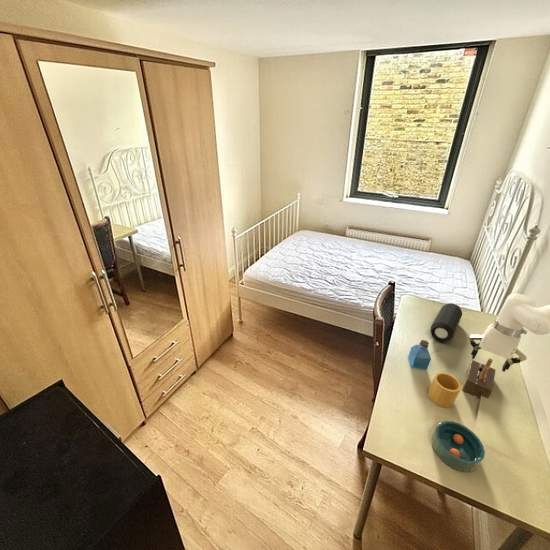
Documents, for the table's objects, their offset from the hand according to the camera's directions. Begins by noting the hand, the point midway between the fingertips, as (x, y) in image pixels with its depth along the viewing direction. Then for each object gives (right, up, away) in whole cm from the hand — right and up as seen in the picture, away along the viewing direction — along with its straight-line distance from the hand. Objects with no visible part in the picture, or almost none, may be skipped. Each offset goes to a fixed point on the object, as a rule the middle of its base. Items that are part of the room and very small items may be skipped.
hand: (488, 362), depth 109 cm
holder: (+1, -12, +8) cm, 14 cm away
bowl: (-22, -24, -15) cm, 35 cm away
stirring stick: (0, -12, +7) cm, 14 cm away
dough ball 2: (-24, -23, -18) cm, 38 cm away
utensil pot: (-16, -14, +3) cm, 22 cm away
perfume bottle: (-18, -6, +18) cm, 26 cm away
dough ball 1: (-20, -21, -14) cm, 32 cm away
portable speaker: (+6, +5, +39) cm, 40 cm away
